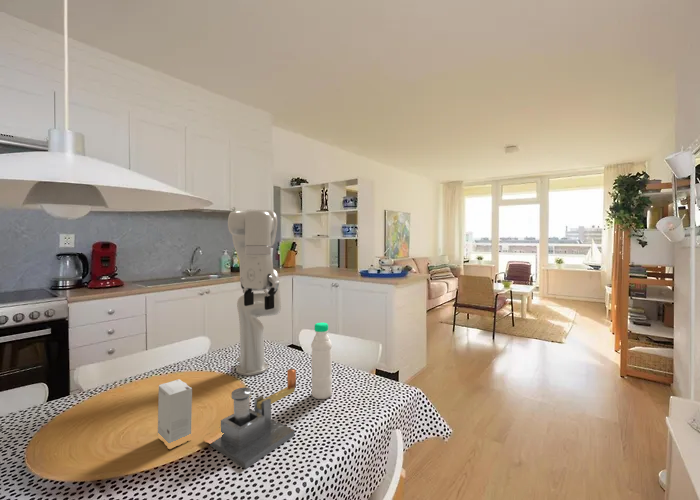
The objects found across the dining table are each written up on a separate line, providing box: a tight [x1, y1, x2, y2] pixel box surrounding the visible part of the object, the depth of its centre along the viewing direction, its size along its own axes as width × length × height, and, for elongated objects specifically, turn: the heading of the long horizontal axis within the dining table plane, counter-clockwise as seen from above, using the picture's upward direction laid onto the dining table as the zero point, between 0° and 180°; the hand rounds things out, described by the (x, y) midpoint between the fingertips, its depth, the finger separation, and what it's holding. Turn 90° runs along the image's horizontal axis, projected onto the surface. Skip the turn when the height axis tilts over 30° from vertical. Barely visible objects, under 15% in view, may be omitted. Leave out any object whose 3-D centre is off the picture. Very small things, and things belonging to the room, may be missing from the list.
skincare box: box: [157, 378, 193, 443], centre depth 87 cm, size 8×6×15 cm
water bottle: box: [310, 322, 333, 400], centre depth 111 cm, size 7×7×25 cm
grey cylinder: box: [231, 386, 252, 427], centre depth 86 cm, size 5×5×12 cm
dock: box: [209, 395, 295, 470], centre depth 87 cm, size 18×16×9 cm
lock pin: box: [257, 368, 297, 410], centre depth 95 cm, size 3×14×7 cm, turn 144°
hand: (258, 307), depth 99 cm, fingers open, 9 cm apart
